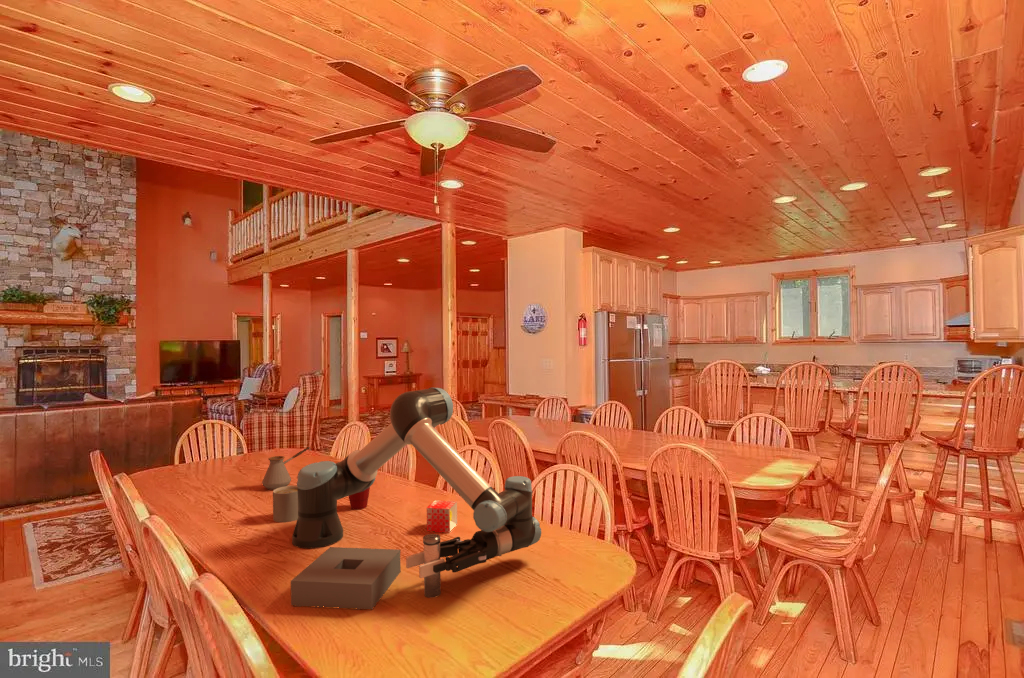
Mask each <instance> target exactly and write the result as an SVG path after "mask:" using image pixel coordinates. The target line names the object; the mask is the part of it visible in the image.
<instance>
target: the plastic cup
mask: <svg viewBox="0 0 1024 678" xmlns="http://www.w3.org/2000/svg"><path fill="white" fill-rule="evenodd" d="M370 489H371V486H370V487H369V488H367V489H366V490H364V491H362V492H359V493H355V494H352V495H349V496H348V501H349V505H350V509H352V510H356V511H359V510H363V509H366V508H367V507H368V502H369V496H370V491H371V490H370Z"/></svg>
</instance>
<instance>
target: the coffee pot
mask: <svg viewBox="0 0 1024 678" xmlns="http://www.w3.org/2000/svg"><path fill="white" fill-rule="evenodd" d="M307 450H308V451H309V450H312V449H311V447H310V446H308V447H306V448H303V450H301V451H298V452H297V453H296V454H294V455H293V456H291V457H290V458H288V459H286V460H285V461H284V459H285V456H282V455H278V456H271V457H268V461H269V465H268V467H267V470H266V472H265V474H264V477H263V479H262V482H261V484H262V486H263V487H264V488H265V489H267V490H270V491H273V490H275V489H277V488H280V487H285V486H289V485H290V483H291V481H292V478H291V475H290V473H289V471H288V469H287V468H286V466H285V465H286V463H289V462H290V461H292V460H293V459H296V458H297V457H299V456H300V455H302V454H303V453H305V452H307Z"/></svg>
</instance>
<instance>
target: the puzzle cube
mask: <svg viewBox="0 0 1024 678" xmlns="http://www.w3.org/2000/svg"><path fill="white" fill-rule="evenodd" d="M456 524H457V525H458V501H456V500H440V499H439V500H434V501H432V502H431V503H430V504H429V505H428V506H426V532H427V531H435V532H434V533H442V532H449V533H448V534H450V533H451V532H452V531H453V530H454V529H455V528H456V527H457V525H456ZM454 527H455V528H454ZM453 528H454V529H453ZM452 529H453V530H452ZM451 530H452V531H451ZM450 531H451V532H450Z"/></svg>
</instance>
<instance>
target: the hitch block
mask: <svg viewBox="0 0 1024 678" xmlns="http://www.w3.org/2000/svg"><path fill="white" fill-rule="evenodd" d="M401 570H402V569H401V549H394V548H392V549H391V548H368V547H367V548H363V547H338V546H337V547H336V546H334V547H333V546H329V547H328V548H327V549H326V550H325V551H323V552H322V553H321V554H320V555H319V556H318V557H317V558H316V559H314V560H313V561H312V562H311V563H310V564H308V565H307V566H306V567H305V568H304V569H303V570H302V571H300V572H299V573H298V574H297V575H296V576H294V578H292V579H291V580H290V606H291V605H296V606H295V607H301V606H315V607H314V608H321V607H323V606H324V607H339V608H338V609H340V608H357V609H356V610H360V609H372V610H373V609H374V608H375V607H376V605H377V604H378V603H379V601H380V600H381V599H380V598H382V597H383V596H384V595H385V593H386V592H387V591H388V589H389V588H390V587H391V585H392V584H393V582H394V581H395V580H396V578H397V577H398V576H399V575H400V573H401ZM383 594H384V595H383ZM377 602H378V603H377ZM376 603H377V604H376ZM317 606H319V607H317ZM374 606H375V607H374ZM373 607H374V608H373Z"/></svg>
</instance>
